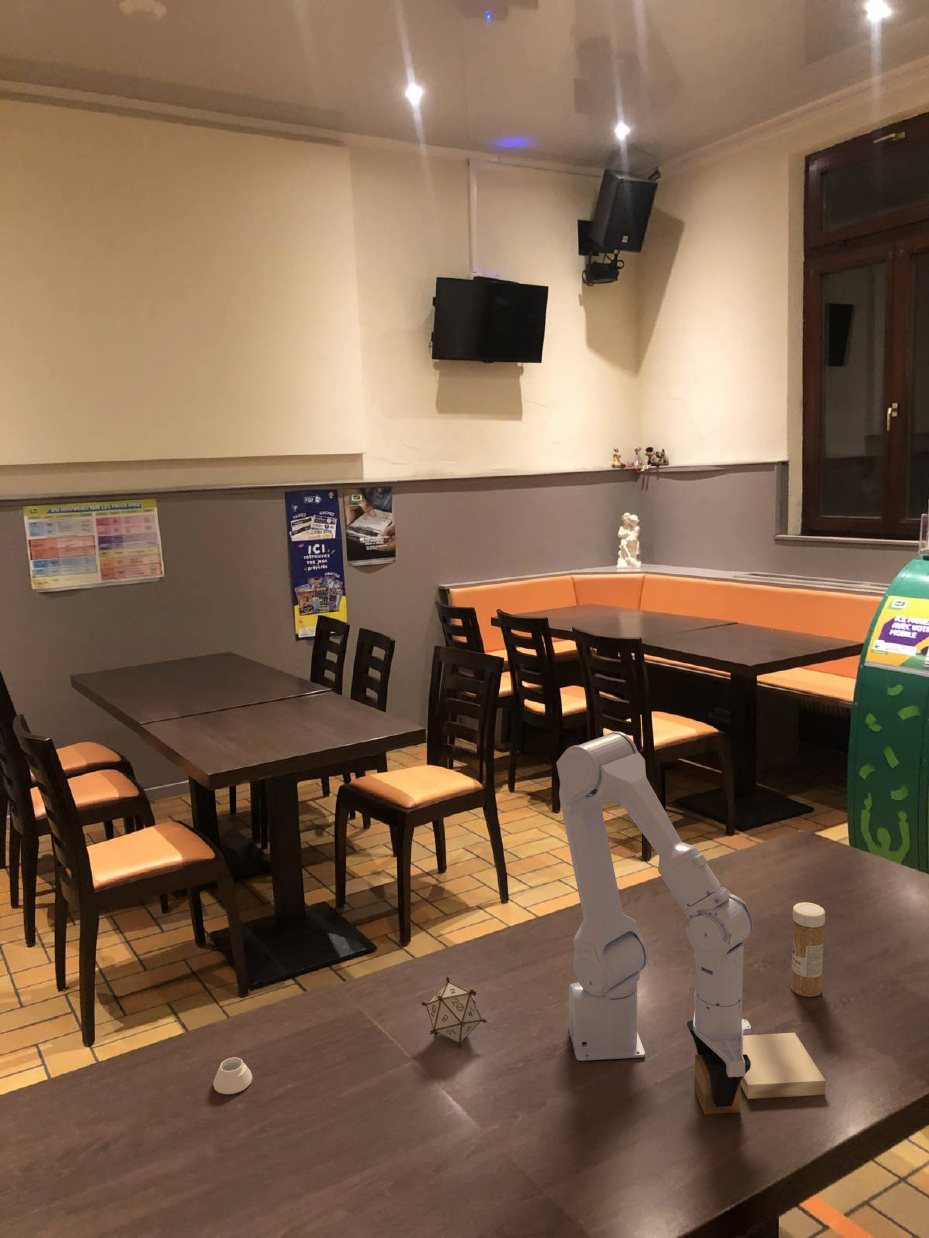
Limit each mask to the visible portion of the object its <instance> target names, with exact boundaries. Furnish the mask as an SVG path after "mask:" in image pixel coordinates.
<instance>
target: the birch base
mask: <svg viewBox="0 0 929 1238" xmlns="http://www.w3.org/2000/svg"><path fill="white" fill-rule="evenodd" d="M744 1054H747V1056H748V1058H749V1059H750V1061H751V1067H750V1070H749V1071H748V1072H747V1073H746V1074H745V1076H744V1077H743V1078H742V1080H741V1088H742V1090H743V1093H744V1094H745V1096H746V1098H747V1100H752V1099H771V1098H786V1097H787V1098H789V1097H804V1096H806V1097H808V1096H823V1095H825V1094H826V1079H825V1078H824V1076H823V1075H822V1073H821V1071H820V1070H819V1068H818V1067H817V1065H816V1064H815V1062H814V1060H813V1059H812V1057H811V1056H810V1054H809V1053H808V1051H807V1050H806V1048H805V1047H804V1045H803V1043H802V1041H801V1040H800V1039H799V1037H798V1036H797V1034H796V1032H786V1033H785V1032H782V1033H763V1034H748V1035H747V1034H746V1035H745V1034H744V1035H743V1055H744Z"/></svg>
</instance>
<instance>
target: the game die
mask: <svg viewBox="0 0 929 1238" xmlns="http://www.w3.org/2000/svg"><path fill="white" fill-rule="evenodd" d="M445 981H446V983H445V985H443V986H442V987H441V988H440V989H439V990H438V991H437V992H436V993H435V994H434V995H433V997H431V998H430V1000H428V1002H427V1003H426V1002H425V1001H422V1002H420V1004H421V1006H423V1007H426V1010H427V1013H428V1016H429V1019H430V1023H431V1026H432V1029H431V1030H430V1031H429V1035H434V1036H438V1035H441V1036H443V1037H444V1038H446V1039H448V1040H451V1041H453V1042H455V1043H457V1044H458V1045H457V1046H458V1047H457V1048H458V1049H459V1050H460V1051H462V1049H463V1045H462V1042H463V1041H464V1040H465V1039H466V1038H467V1037H468V1036H469V1035H470V1033H472V1032H473V1031H474V1029H476V1027H477V1026H478V1025H480V1023H481V1022H482V1023H483V1024H486V1023H488V1020H487V1019H486V1018H482V1016H481V1013H480V1010H479V1007H478V1004H477V1001H476V999H475V996H476V995H477V992H478V991H475V990H474V988H471V989H470V990H466V989H464V988H462V987H460V986H458V985H456V984H454V983H452V982H451V981H450V977H449V976H448V975H446V978H445Z"/></svg>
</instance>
